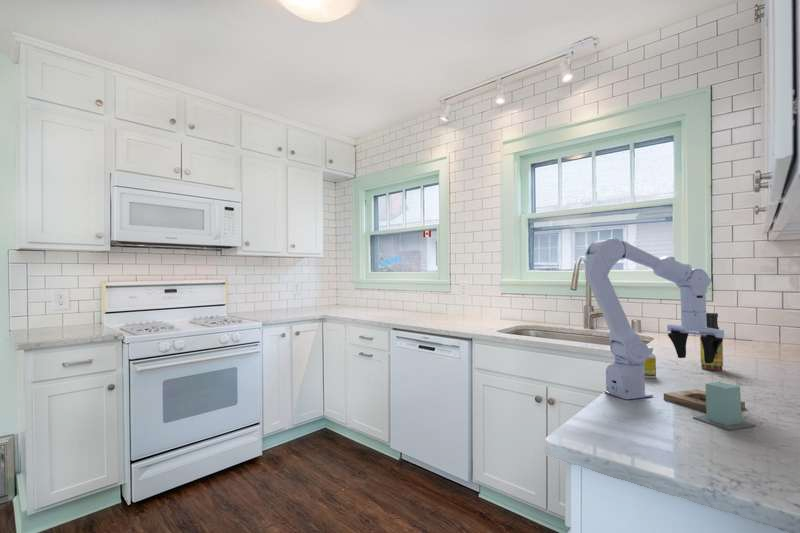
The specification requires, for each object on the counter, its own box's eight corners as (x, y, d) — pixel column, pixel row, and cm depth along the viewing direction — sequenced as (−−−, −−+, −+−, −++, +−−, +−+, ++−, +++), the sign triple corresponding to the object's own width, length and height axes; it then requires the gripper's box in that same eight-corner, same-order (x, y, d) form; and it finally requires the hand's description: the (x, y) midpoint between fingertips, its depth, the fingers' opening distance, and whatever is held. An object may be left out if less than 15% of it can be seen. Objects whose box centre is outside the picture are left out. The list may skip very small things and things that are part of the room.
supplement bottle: (659, 378, 129) (658, 348, 129) (640, 378, 130) (639, 347, 130) (652, 374, 134) (651, 345, 135) (634, 374, 136) (633, 345, 136)
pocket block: (710, 413, 96) (709, 406, 96) (663, 399, 108) (663, 393, 108) (745, 408, 100) (744, 401, 100) (696, 394, 111) (696, 389, 111)
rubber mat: (730, 430, 85) (730, 429, 85) (692, 418, 93) (692, 416, 93) (756, 426, 88) (756, 424, 88) (717, 414, 95) (717, 413, 95)
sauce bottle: (718, 372, 137) (716, 313, 138) (697, 368, 142) (695, 312, 143) (727, 369, 140) (725, 312, 141) (706, 366, 146) (704, 311, 146)
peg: (727, 425, 88) (726, 388, 88) (706, 418, 92) (705, 383, 92) (741, 422, 89) (740, 386, 89) (720, 416, 93) (719, 381, 93)
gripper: (731, 313, 107) (733, 364, 106) (679, 309, 121) (680, 354, 120) (712, 314, 105) (714, 366, 104) (661, 310, 118) (662, 356, 118)
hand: (695, 360), depth 112 cm, fingers open, 7 cm apart
